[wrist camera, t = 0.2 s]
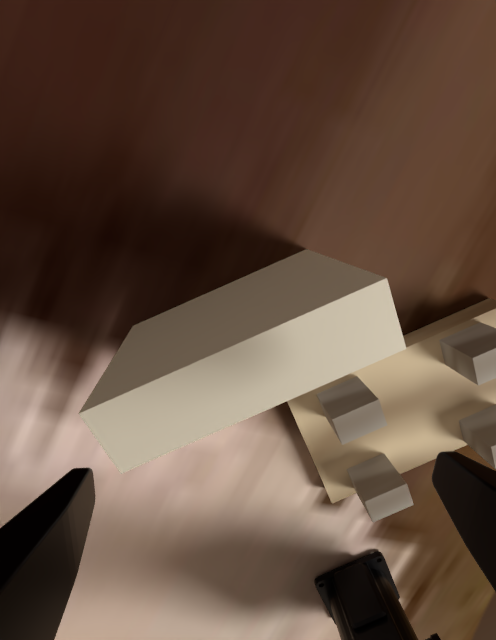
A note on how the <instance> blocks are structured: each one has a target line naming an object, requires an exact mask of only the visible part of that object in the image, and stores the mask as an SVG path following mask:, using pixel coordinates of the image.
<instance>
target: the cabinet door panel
mask: <svg viewBox="0 0 496 640" xmlns="http://www.w3.org/2000/svg"><path fill="white" fill-rule="evenodd" d="M405 349H406V345H405V342H404V338H403V334H402V331H401V327H400V324H399V320H398V317H397V313H396V309H395V306H394V302H393V299H392V295H391V292H390V288H389V284H388V281H387V278H385V277H383V276H380V275H377V274H374V273H371V272H369V271H366V270H363V269H360V268H358V267H355V266H352V265H349V264H347V263H344V262H341V261H338V260H335V259H333V258H330V257H327V256H324V255H322V254H319V253H316V252H313V251H311V250H308V249H306V250H303V251H301V252H299V253H297V254H294V255H292V256H290V257H288V258H285V259H283V260H281V261H279V262H276V263H274V264H272V265H269V266H267V267H265V268H263V269H260V270H258V271H256V272H254V273H251V274H249V275H247V276H245V277H242V278H240V279H238V280H236V281H233V282H231V283H229V284H226V285H224V286H222V287H220V288H217V289H215V290H213V291H211V292H208V293H206V294H204V295H202V296H199V297H197V298H195V299H193V300H190V301H188V302H186V303H184V304H181V305H179V306H177V307H174V308H172V309H170V310H168V311H165V312H163V313H161V314H159V315H156V316H154V317H152V318H150V319H147V320H145V321H143V322H141V323H138V324H136V325H134V326H133V327H132V328H131V330H130V332H129V333H128V335H127V336H126V338H125V340H124V341H123V343H122V344H121V346H120V348H119V349H118V351H117V353H116V354H115V356H114V357H113V359H112V361H111V362H110V364H109V365H108V367H107V369H106V370H105V372H104V374H103V375H102V377H101V378H100V380H99V382H98V383H97V385H96V386H95V388H94V390H93V391H92V393H91V395H90V396H89V398H88V399H87V401H86V403H85V404H84V406H83V407H82V409H81V411H80V412H79V415H80V416H81V418H82V419H83V421H84V422H85V423H86V425H87V426H88V428H89V429H90V431H91V432H92V433H93V435H94V436H95V438H96V439H97V440H98V442H99V443H100V445H101V446H102V448H103V449H104V450H105V452H106V453H107V455H108V456H109V458H110V459H111V460H112V462H113V463H114V465H115V466H116V468H117V469H118V470H119V472H120V473H121V474H122V473H124V472H127V471H129V470H131V469H133V468H136V467H138V466H140V465H143V464H145V463H147V462H149V461H152V460H154V459H156V458H158V457H161V456H163V455H165V454H168V453H170V452H172V451H174V450H177V449H179V448H181V447H184V446H186V445H188V444H190V443H193V442H195V441H197V440H200V439H202V438H204V437H206V436H209V435H211V434H213V433H216V432H218V431H220V430H222V429H225V428H227V427H229V426H232V425H234V424H236V423H238V422H241V421H243V420H245V419H247V418H250V417H252V416H254V415H257V414H259V413H261V412H263V411H266V410H268V409H270V408H273V407H275V406H277V405H279V404H282V403H284V402H286V401H289V400H291V399H293V398H295V397H298V396H300V395H302V394H305V393H307V392H309V391H311V390H314V389H316V388H318V387H320V386H323V385H325V384H327V383H330V382H332V381H334V380H336V379H339V378H341V377H343V376H346V375H348V374H350V373H352V372H355V371H357V370H359V369H362V368H364V367H366V366H368V365H371V364H373V363H375V362H378V361H380V360H382V359H384V358H387V357H389V356H391V355H394V354H396V353H398V352H400V351H403V350H405Z"/></svg>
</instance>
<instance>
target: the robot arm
mask: <svg viewBox="0 0 496 640" xmlns="http://www.w3.org/2000/svg"><path fill="white" fill-rule="evenodd" d="M432 482H433V485H434V487H435V489H436V491H437V493H438V495H439V497H440V499H441V500H442V502H443V504H444V506H445V508H446V510H447V512H448V514H449V515H450V517H451V519H452V521H453V523H454V525H455V527H456V529H457V530H458V532H459V534H460V536H461V538H462V539H463V541H464V543H465V545H466V546H467V548H468V549H469V551H470V553H471V554H472V556H473V557H474V559H475V561H476V562H477V564H478V565H479V567H480V568H481V570H482V571H483V573H484V575H485V576H486V578H487V579H488V581H489V582H490V584H491V585H492V587H493V588H494V590H495V592H496V471H494V470H492V469H490V468H488V467H486V466H484V465H482V464H480V463H478V462H476V461H474V460H472V459H470V458H468V457H466V456H464V455H462V454H460V453H458V452H455V451H444V452H440V453H439V454H438V455H437V458H436V462H435V466H434V470H433V474H432ZM94 505H95V488H94V478H93V471H92V469H90V468H75V469H72V470H71V471H69V472H68V473H67V474H66V475H64V476H63V477H62V478H61V479H60V480H58V481H57V482H56V483H55V484H54V485H52V486H51V487H50V488H49V489H47V490H46V491H45V492H44V493H43V494H41V495H40V496H39V497H38V498H36V499H35V500H34V501H33V502H32V503H30V504H29V505H28V506H27V507H26V508H24V509H23V510H22V511H21V512H19V513H18V514H17V515H16V516H15V517H13V518H12V519H11V520H10V521H9V522H7V523H6V524H5V525H4V526H2V527H1V528H0V640H54V639H55V636H56V633H57V630H58V627H59V625H60V622H61V619H62V616H63V613H64V611H65V608H66V605H67V602H68V599H69V597H70V594H71V591H72V588H73V585H74V582H75V579H76V576H77V573H78V569H79V565H80V561H81V557H82V553H83V549H84V545H85V541H86V537H87V533H88V529H89V525H90V521H91V517H92V513H93V509H94ZM315 585H316V588H317V590H318V592H319V594H320V596H321V598H322V600H323V601H324V603H325V605H326V607H327V609H328V611H329V613H330V615H331V617H332V619H333V621H334V623H335V624H336V625H337V628H338V631H339V634H340V637H341V640H418V638H417V636H416V634H415V632H414V630H413V628H412V626H411V624H410V622H409V620H408V618H407V616H406V614H405V612H404V610H403V608H402V606H401V604H400V602H399V600H398V599H399V598H400V596H399V594H398V591H397V589H396V586H395V584H394V581H393V579H392V576H391V574H390V571H389V569H388V566H387V564H386V561H385V559H384V557H383V555H382V553H381V552H375V553H373V554H370V555H368V556H366V557H363V558H361V559H359V560H356V561H354V562H352V563H350V564H347V565H345V566H343V567H340V568H338V569H336V570H333V571H331V572H329V573H326V574H324V575H322V576H320V577H317V578H316V579H315ZM426 640H441V639H440V638H439V636H438V634H437V633H435V634H433V635H431V636H430V638H428V639H426Z"/></svg>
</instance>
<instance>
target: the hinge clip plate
mask: <svg viewBox="0 0 496 640" xmlns="http://www.w3.org/2000/svg"><path fill="white" fill-rule="evenodd" d="M403 338H404V342H405V345H406V349H405V350H403V351H400V352H398V353H396V354H394V355H391V356H389V357H387V358H384V359H382V360H380V361H378V362H375V363H373V364H371V365H368V366H366V367H364V368H362V369H359V370H357V371H355V372H352V373H350V374H348V375H346V376H343V377H341V378H339V379H336V380H334V381H332V382H330V383H327V384H325V385H323V386H320V387H318V388H316V389H314V390H311V391H309V392H307V393H305V394H302V395H300V396H298V397H295V398H293V399H291V400H289V401H287V402H288V405H289V407H290V409H291V411H292V414H293V416H294V418H295V420H296V423H297V425H298V427H299V430H300V432H301V434H302V436H303V439H304V441H305V443H306V445H307V448H308V450H309V452H310V454H311V457H312V459H313V461H314V464H315V466H316V468H317V470H318V473H319V475H320V477H321V479H322V482H323V484H324V486H325V488H326V491H327V493H328V495H329V498H330V500H331V502H332V503H334V502H337V501H339V500H341V499H344V498H346V497H348V496H351V495H353V494H355V493H357V494H358V496H359V498H360V500H361V502H362V503H363V505H364V507H365V509H366V511H367V513H368V514H369V516H370V518H371V520H372V522H375V521H377V520H380V519H382V518H384V517H386V516H389V515H391V514H393V513H396V512H398V511H400V510H403V509H405V508H407V507H410V506H412V505H414V504H413V501H412V498H411V495H410V492H409V489H408V486H407V483H406V482H405V481H404V479H403V478H402V477H401V475H400V474H401V473H403V472H406V471H408V470H410V469H413V468H415V467H417V466H420V465H422V464H424V463H426V462H429V461H431V460H433V459H436V458H437V455H438V454H439V453H440V452H444V451H454V450H456V449H459V448H461V447H463V446H466V445H469V446H470V447H471V448H472V449H473V450H474V451H476V452H477V453H478V454H479V455H480V456H481V457H482V458H484V459H485V460H486V461H487V462H488V463H489V464H490V465H491V466H493V467H494V468H495V469H496V300H493V299H490V298H488V299H486V300H484V301H481V302H479V303H477V304H475V305H472V306H470V307H468V308H466V309H463V310H461V311H459V312H456V313H454V314H452V315H450V316H447V317H445V318H443V319H440V320H438V321H436V322H434V323H431V324H429V325H427V326H424V327H422V328H420V329H418V330H415V331H413V332H411V333H409V334H406V335H404V336H403Z"/></svg>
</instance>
